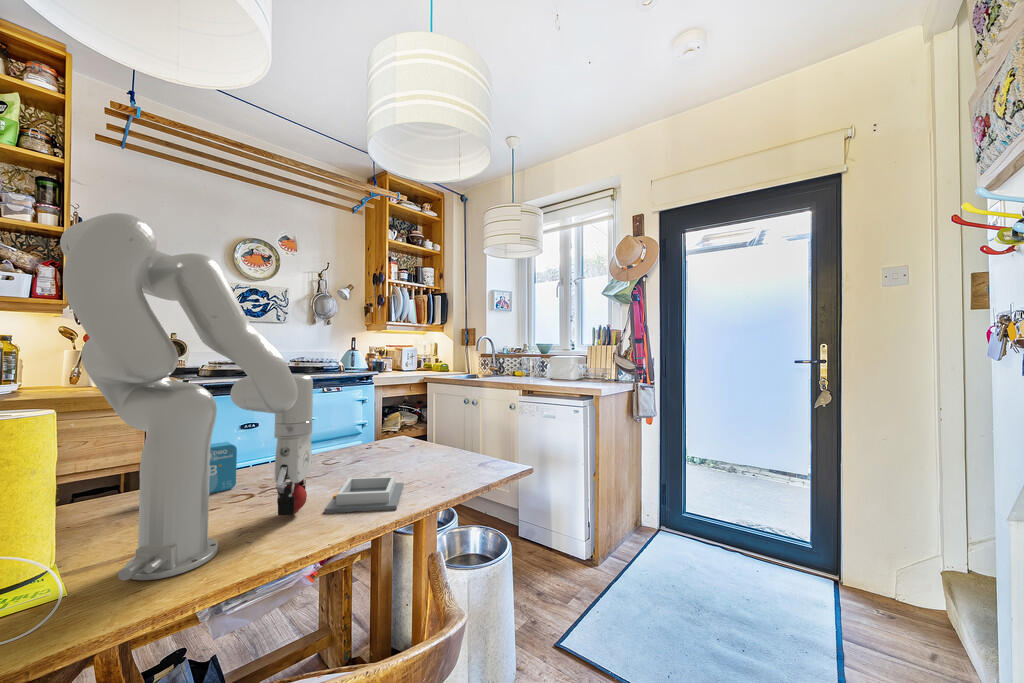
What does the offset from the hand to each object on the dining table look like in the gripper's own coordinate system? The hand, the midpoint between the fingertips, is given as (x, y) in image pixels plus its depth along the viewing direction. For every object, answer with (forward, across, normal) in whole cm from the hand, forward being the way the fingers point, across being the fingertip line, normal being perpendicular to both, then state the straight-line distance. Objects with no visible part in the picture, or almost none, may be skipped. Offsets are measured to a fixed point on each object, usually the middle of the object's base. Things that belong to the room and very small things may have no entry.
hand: (292, 507), depth 91 cm
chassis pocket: (+2, +8, -15) cm, 17 cm away
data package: (+2, +18, +27) cm, 33 cm away
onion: (+2, 0, 0) cm, 2 cm away
